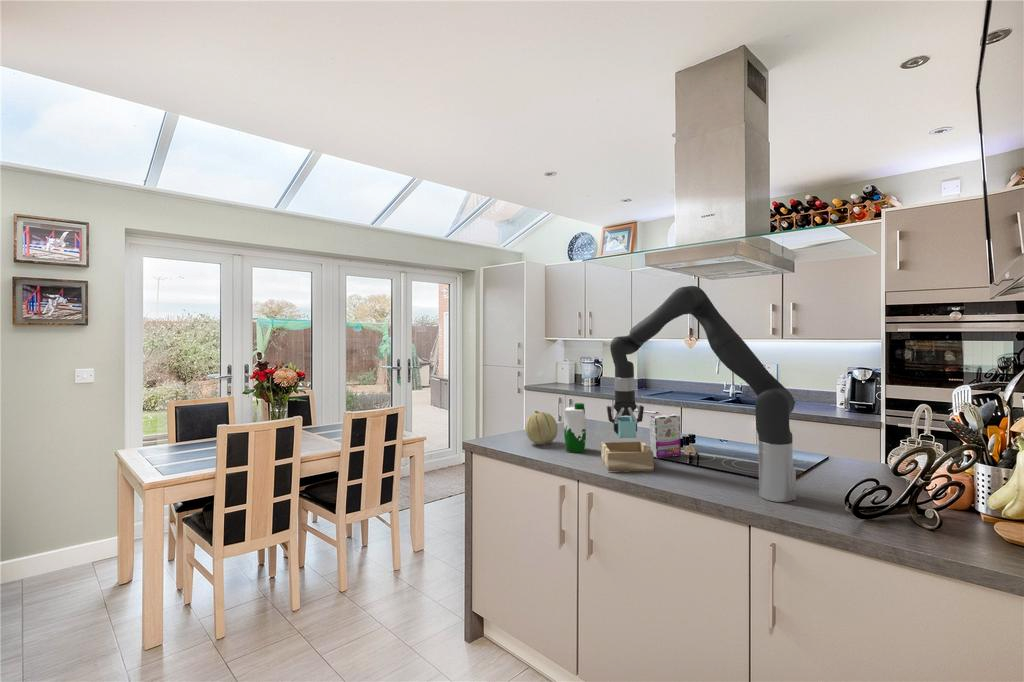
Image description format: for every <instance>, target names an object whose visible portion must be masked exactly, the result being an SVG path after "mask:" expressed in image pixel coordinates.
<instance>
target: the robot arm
mask: <svg viewBox="0 0 1024 682" xmlns="http://www.w3.org/2000/svg"><path fill="white" fill-rule="evenodd" d="M690 314H691V316H693V317H694V318H695V319H696V321H697V322H698V323H699V324H700V325H701V327H702V328H703V330H704V332H705V334H706V335H705V336H706V338H707V341H708V343H709V344H708V345H709V346H710V347H709V348H711V350H712V352H713V353H714V355H716V357H717V358H718V359H719V361H720V362H722V364H723V365H724V366H725V367H726V368H727V369H728V370H730V372H732V373H733V374H734V375H736V376H737V377H739V378H740V379H741V380H742V381H744V382H745V383H746V384H747V385H748V386H749V387H750V388H751V389H752V391H753V392H754V393H755V394H756V396H757V397H756V400H755V407H754V408H755V410H754V411H755V429H756V433H757V436H758V437H757V438H758V496H759V497H760V498H762V499H763V500H767V501H770V502H779V503H780V502H781V503H786V502H791V501H795V500H797V472H796V471H797V470H796V468H795V466H794V459H793V454H794V453H793V449H794V448H793V433H792V432H791V429H790V414H791V413H792V412H793V411H794V409H795V404H796V403H795V399H794V396H793V395H792V393H791V392H790V391H789V390H788V389H787V388H786V387H785V386H784V385H783V384H782V383H781V382H779V380H777V379H776V377H774V376H773V375H772V373H770V372H769V371H768V370H767V369H766V367H765V366H764V364H763V363H762V362H761V361H760V359H759V358H758V357H757V356H756V354H755V353H754V352H753V351H752V350H751V348H750V347H749V346H748V344H747V343H746V342H745V340H744V339H742V337H741V336H740V335H739V334H738V333H737V332H736V330H734V328H732V325H730V324H729V323H728V321H726V319H725V318H724V317H723V316H722V314H721V313H719V311H718V310H717V308H716V307H715V305H714V304H713V303H712V300H711V299H710V298H709V296H708V295H707V294H706V292H705V291H704V290H703V289H702V288H700V287H698V286H695V285H687V286H681V287H678V288H677V289H675V290H674V291H673V292H672V293H671V294H670V295H669V296H668V297H667V299H665V300H664V301H663V302H662V303H661V305H659V306H658V307H657V308H656V309H655V310H654V311H653V312H652V313H650V314H649V315H648V316H646V317H644V319H642V320H640V321H639V322H638V323H637V324H635V325H634V326H633V327H631V328H630V329H629V334H628V335H623V336H615V337H614V338H612V340H611V341H610V346H609V347H610V349H609V350H610V354H611V355H610V356H611V357H612V362H613V364H614V365H613V366H614V385H613V386H614V387H613V388H614V404H613V405H607V406H606V412H607V419H608V421H609V422H610V423H612V424H613V432H615V434H616V435H617V434H618V424H617V423H618V420H619V419H620V417H631V418H632V419H633V420H635V421H636V433H637V432H638V423H640V422H643V417H644V409H645V406H643V405H641V404H640V405H637V404H636V385H635V383H636V382H635V371H634V370H635V366H634V363H633V362H632V361H629V360H628V357H627V355H632V354H634V353H636V352H637V351H638V350H639V349H640V348H641V347H642V346H643V345H644V343H645V344H646V342H648V341H650V340H651V339H652V338H653V337H655V336H657V334H659V332H660V331H661V330H662V329H663V328H664V327H665V326H666V325H667V324H668V323H670V322H671V321H673V320H675V319H677V318H680V317H681V316H684V315H690ZM636 409H637V412H638V414H637V416H635V415H636V414H634V412H635V411H636ZM614 410H615V411H616V412H615V416H614V417H613V414H612V413H613V411H614ZM636 417H637V418H636Z"/></svg>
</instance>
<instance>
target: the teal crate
mask: <svg viewBox="0 0 1024 682" xmlns="http://www.w3.org/2000/svg"><path fill="white" fill-rule="evenodd" d="M617 424H618V434H616V435H617V436H618V438H619V439H635V438H637V432H636V421H635V420H633V419H632V418H631V416H621V417H620V419H619V420H618V423H617Z"/></svg>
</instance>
